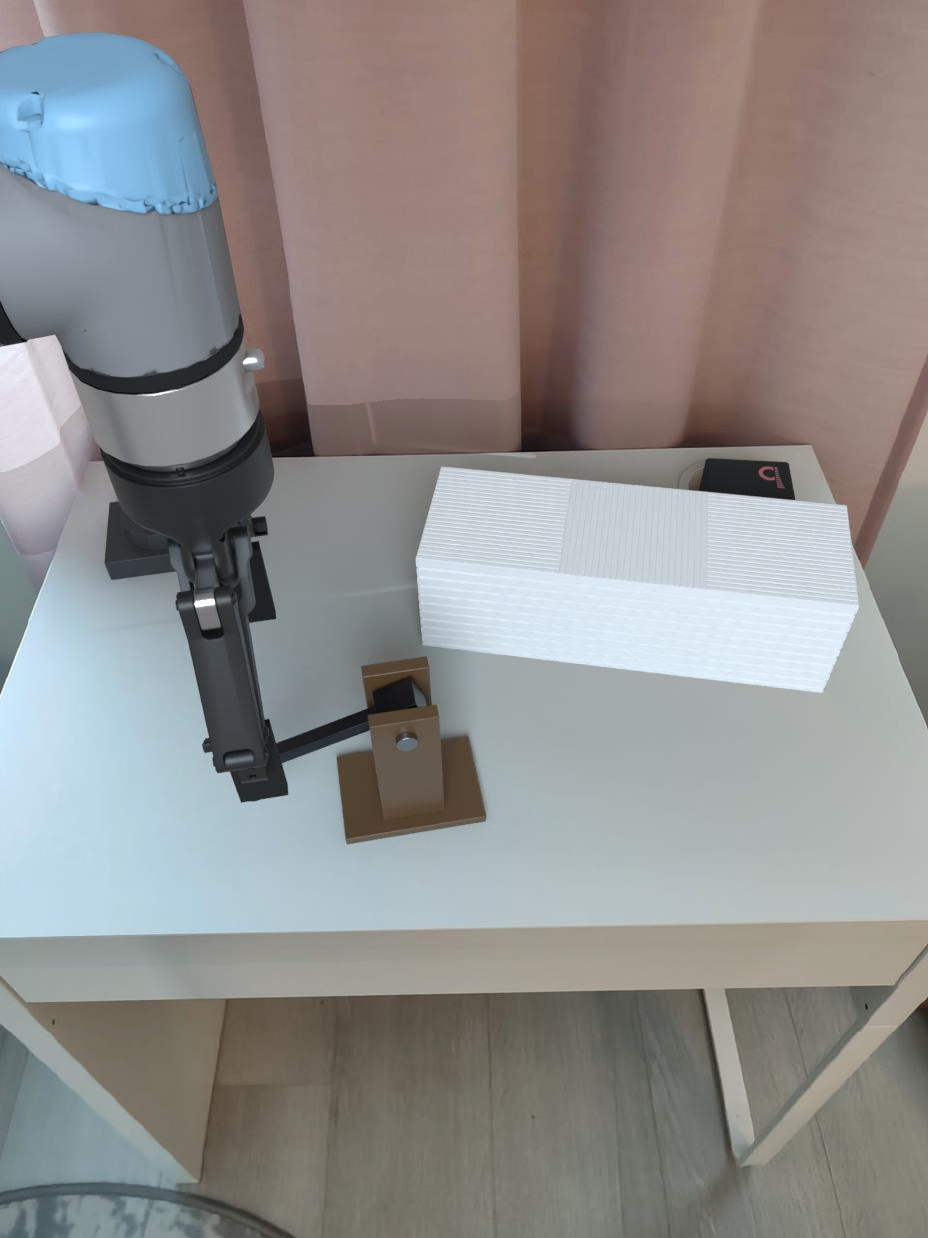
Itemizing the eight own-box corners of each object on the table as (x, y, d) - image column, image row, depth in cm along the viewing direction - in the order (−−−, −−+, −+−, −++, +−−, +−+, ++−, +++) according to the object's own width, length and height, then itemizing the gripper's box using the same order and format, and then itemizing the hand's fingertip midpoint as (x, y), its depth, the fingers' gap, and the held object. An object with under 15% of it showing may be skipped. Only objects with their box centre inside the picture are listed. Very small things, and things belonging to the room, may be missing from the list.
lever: (252, 807, 66) (233, 791, 64) (249, 745, 69) (231, 728, 68) (433, 740, 64) (419, 721, 62) (421, 679, 67) (407, 660, 66)
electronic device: (703, 580, 87) (713, 539, 83) (696, 498, 94) (705, 457, 90) (790, 586, 86) (804, 544, 83) (777, 502, 93) (789, 461, 90)
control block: (111, 580, 88) (97, 548, 85) (115, 519, 93) (103, 487, 90) (225, 565, 89) (216, 532, 86) (223, 505, 94) (214, 473, 91)
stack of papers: (422, 649, 82) (415, 558, 74) (445, 558, 89) (441, 465, 81) (820, 697, 78) (859, 606, 70) (812, 598, 85) (846, 504, 77)
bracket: (347, 848, 71) (325, 747, 61) (338, 766, 75) (316, 660, 65) (486, 825, 72) (486, 722, 62) (468, 745, 76) (466, 638, 66)
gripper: (276, 612, 38) (338, 872, 54) (252, 273, 54) (306, 550, 70) (74, 641, 37) (198, 895, 53) (111, 288, 53) (198, 565, 69)
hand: (259, 699), depth 62 cm, fingers open, 13 cm apart
